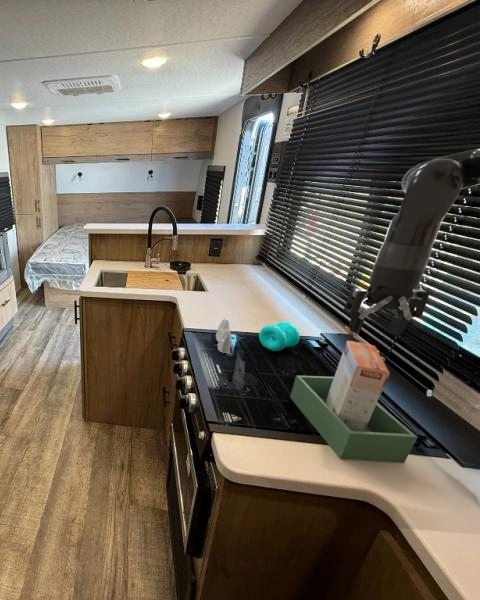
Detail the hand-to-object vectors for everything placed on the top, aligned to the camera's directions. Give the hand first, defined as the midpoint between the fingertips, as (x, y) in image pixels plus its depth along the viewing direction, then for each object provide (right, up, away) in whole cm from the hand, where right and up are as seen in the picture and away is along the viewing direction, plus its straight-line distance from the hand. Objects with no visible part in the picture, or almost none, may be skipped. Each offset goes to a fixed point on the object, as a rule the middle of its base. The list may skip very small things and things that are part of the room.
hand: (374, 332), depth 70 cm
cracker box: (+1, -25, +10) cm, 27 cm away
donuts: (+7, -11, +47) cm, 49 cm away
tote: (+1, -26, +10) cm, 28 cm away
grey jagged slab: (-27, +5, +87) cm, 91 cm away
